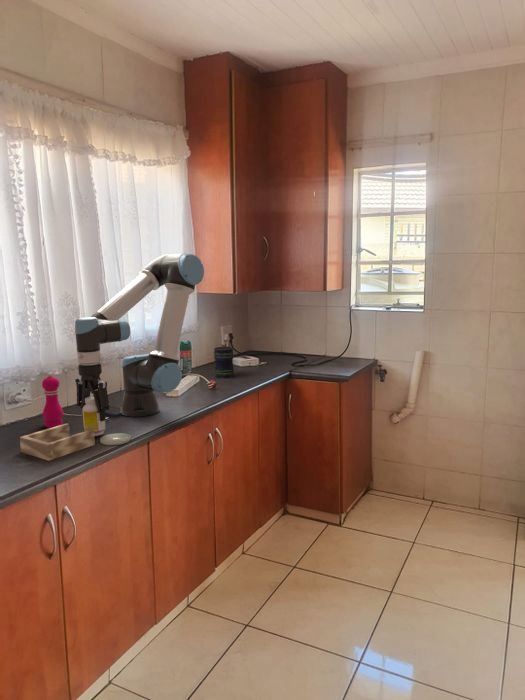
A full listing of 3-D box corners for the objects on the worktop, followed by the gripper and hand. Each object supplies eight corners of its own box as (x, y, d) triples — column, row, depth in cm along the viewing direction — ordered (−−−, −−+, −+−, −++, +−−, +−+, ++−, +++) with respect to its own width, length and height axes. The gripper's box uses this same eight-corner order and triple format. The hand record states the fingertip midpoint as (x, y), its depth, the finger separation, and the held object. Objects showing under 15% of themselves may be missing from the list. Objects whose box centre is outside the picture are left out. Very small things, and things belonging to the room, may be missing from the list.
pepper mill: (66, 422, 210) (63, 370, 207) (60, 428, 203) (56, 374, 200) (47, 422, 210) (43, 371, 207) (40, 428, 203) (36, 375, 199)
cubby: (67, 437, 192) (66, 423, 191) (94, 444, 184) (93, 430, 183) (20, 452, 178) (19, 437, 177) (49, 460, 170) (47, 445, 169)
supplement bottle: (105, 435, 191) (102, 399, 189) (85, 437, 189) (82, 401, 186) (103, 429, 197) (100, 394, 195) (83, 432, 195) (81, 396, 192)
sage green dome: (116, 434, 195) (116, 431, 195) (137, 439, 189) (136, 436, 189) (94, 442, 187) (93, 439, 186) (114, 447, 181) (114, 444, 181)
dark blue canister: (226, 379, 281) (225, 350, 279) (210, 377, 286) (210, 349, 284) (237, 375, 290) (236, 347, 287) (222, 374, 295) (221, 346, 292)
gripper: (61, 362, 191) (67, 426, 195) (100, 367, 180) (105, 435, 184) (79, 358, 197) (84, 421, 201) (117, 363, 186) (122, 429, 190)
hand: (94, 428), depth 193 cm, fingers closed on supplement bottle, 7 cm apart
